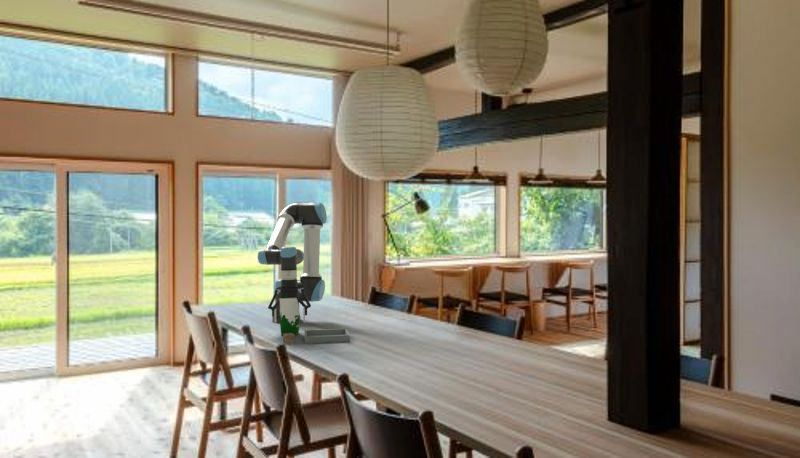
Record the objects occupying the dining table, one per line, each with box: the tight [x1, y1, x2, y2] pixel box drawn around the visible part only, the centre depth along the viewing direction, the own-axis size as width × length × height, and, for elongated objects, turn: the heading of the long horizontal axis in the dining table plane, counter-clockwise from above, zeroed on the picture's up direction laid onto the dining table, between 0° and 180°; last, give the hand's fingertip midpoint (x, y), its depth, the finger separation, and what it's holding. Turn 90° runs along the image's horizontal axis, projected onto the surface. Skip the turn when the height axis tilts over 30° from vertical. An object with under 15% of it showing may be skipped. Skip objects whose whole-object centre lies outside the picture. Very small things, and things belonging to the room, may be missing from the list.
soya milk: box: [279, 294, 301, 337], centre depth 294 cm, size 9×9×20 cm
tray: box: [303, 328, 350, 345], centre depth 283 cm, size 16×20×3 cm
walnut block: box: [282, 333, 296, 345], centre depth 277 cm, size 4×4×4 cm
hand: (289, 322), depth 294 cm, fingers open, 13 cm apart
